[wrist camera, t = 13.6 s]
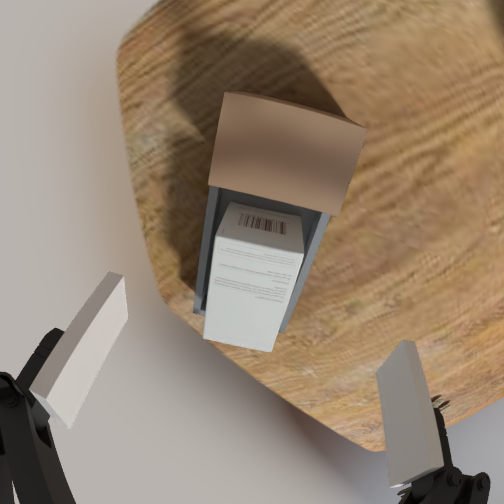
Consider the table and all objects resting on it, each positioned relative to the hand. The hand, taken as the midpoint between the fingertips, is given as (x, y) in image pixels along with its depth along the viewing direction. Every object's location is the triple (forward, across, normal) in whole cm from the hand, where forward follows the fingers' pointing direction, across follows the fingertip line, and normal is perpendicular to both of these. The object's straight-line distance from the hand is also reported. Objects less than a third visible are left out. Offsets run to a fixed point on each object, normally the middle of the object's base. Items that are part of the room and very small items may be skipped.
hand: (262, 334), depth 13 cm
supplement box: (+14, -1, -2) cm, 14 cm away
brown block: (+18, -1, +5) cm, 19 cm away
